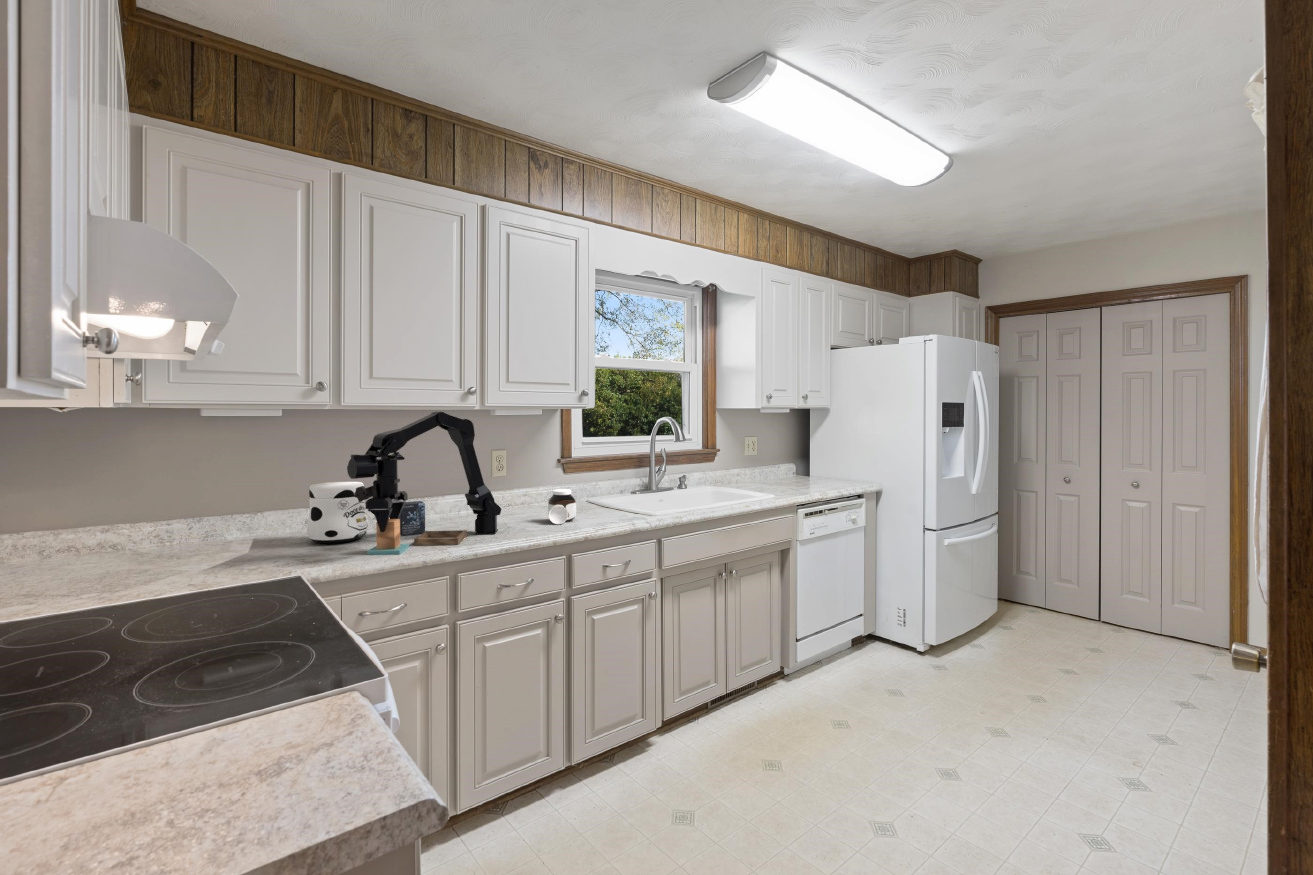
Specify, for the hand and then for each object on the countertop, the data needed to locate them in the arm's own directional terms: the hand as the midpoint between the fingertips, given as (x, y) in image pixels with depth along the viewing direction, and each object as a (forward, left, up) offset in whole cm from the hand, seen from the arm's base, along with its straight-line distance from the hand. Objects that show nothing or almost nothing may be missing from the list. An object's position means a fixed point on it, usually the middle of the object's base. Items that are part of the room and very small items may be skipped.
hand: (388, 528), depth 181 cm
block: (0, 0, -6) cm, 6 cm away
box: (+1, -26, -7) cm, 27 cm away
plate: (0, 0, -6) cm, 7 cm away
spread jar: (-48, -43, -7) cm, 65 cm away
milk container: (+21, -17, -7) cm, 28 cm away
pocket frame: (-12, -13, -6) cm, 19 cm away
